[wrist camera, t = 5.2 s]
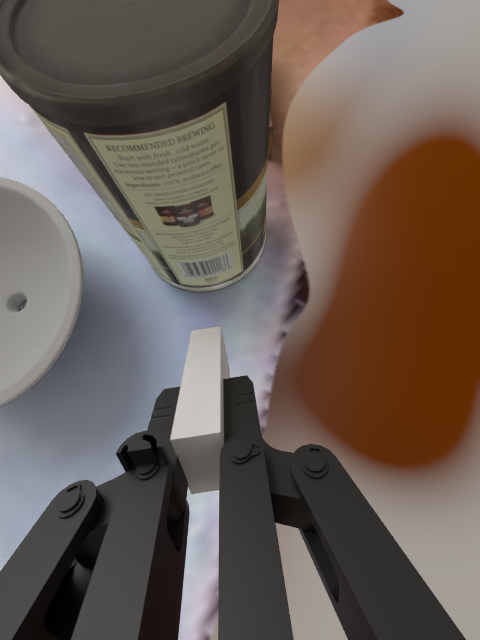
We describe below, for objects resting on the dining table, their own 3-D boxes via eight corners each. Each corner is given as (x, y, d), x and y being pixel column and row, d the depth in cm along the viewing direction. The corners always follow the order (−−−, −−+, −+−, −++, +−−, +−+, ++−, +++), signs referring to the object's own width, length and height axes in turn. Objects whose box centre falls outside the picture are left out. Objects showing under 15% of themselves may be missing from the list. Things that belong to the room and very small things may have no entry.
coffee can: (218, 167, 25) (173, -111, 11) (291, 244, 22) (346, -6, 9) (122, 228, 23) (-58, -7, 10) (187, 318, 21) (57, 158, 7)
